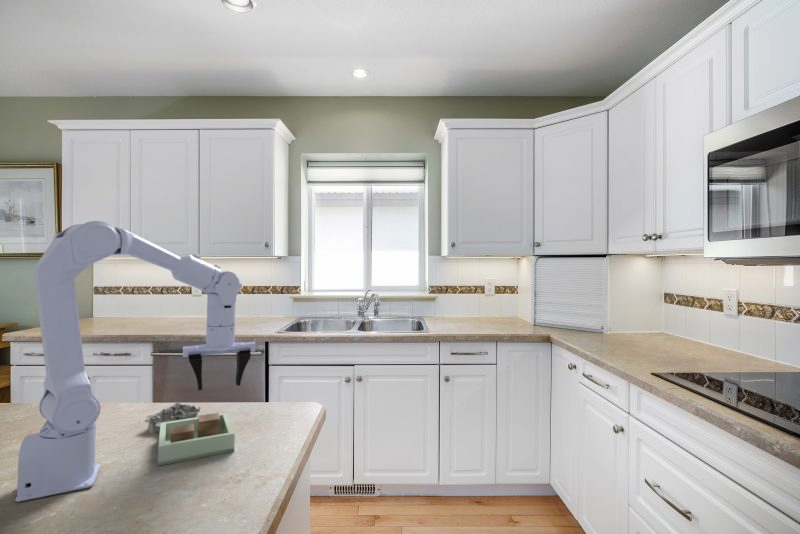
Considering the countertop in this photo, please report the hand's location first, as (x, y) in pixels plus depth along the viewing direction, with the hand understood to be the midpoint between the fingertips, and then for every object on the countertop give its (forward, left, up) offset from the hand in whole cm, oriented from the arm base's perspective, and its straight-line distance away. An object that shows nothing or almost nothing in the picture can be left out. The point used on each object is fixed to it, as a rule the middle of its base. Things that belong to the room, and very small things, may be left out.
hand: (219, 386), depth 87 cm
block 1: (-7, -6, -10) cm, 14 cm away
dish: (-5, -4, -10) cm, 12 cm away
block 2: (-2, -2, -10) cm, 10 cm away
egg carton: (-9, +10, -11) cm, 17 cm away
